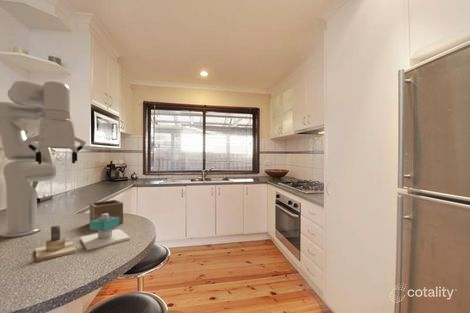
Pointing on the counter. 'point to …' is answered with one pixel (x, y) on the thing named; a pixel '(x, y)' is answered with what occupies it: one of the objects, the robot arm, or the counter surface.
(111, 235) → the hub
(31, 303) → the counter surface
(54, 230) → the stand
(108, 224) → the teal square frame
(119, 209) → the tool caddy
